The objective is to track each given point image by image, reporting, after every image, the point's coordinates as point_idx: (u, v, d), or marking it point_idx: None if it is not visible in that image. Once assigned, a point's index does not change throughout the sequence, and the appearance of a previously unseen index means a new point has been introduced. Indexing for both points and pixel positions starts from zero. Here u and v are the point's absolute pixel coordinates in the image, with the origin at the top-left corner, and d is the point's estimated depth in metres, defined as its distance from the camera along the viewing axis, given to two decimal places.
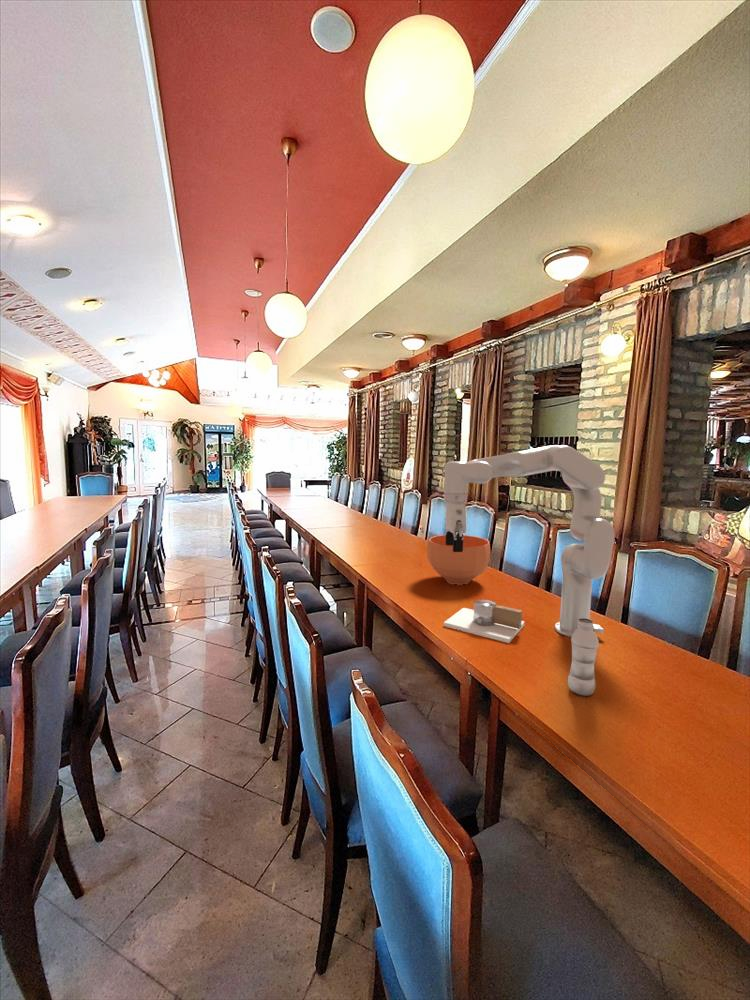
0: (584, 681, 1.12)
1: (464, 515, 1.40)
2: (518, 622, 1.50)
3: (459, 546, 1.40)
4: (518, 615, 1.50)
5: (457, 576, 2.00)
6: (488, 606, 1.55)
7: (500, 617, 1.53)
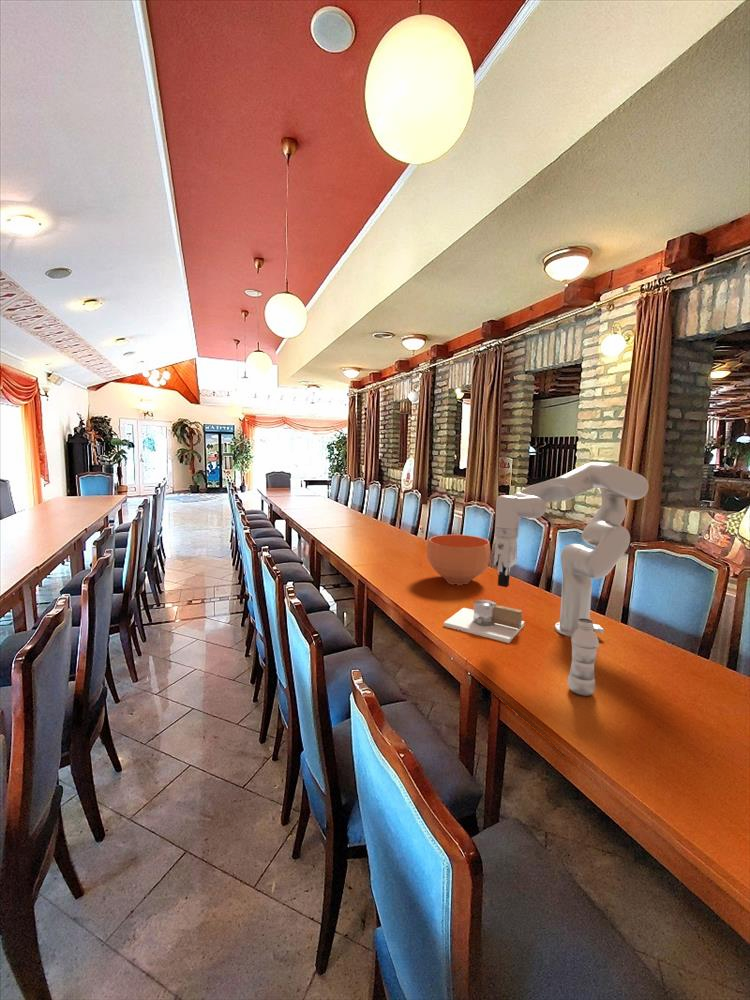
0: (584, 681, 1.12)
1: (506, 550, 1.39)
2: (518, 622, 1.50)
3: (502, 581, 1.44)
4: (518, 615, 1.50)
5: (457, 576, 2.00)
6: (488, 606, 1.55)
7: (500, 617, 1.53)
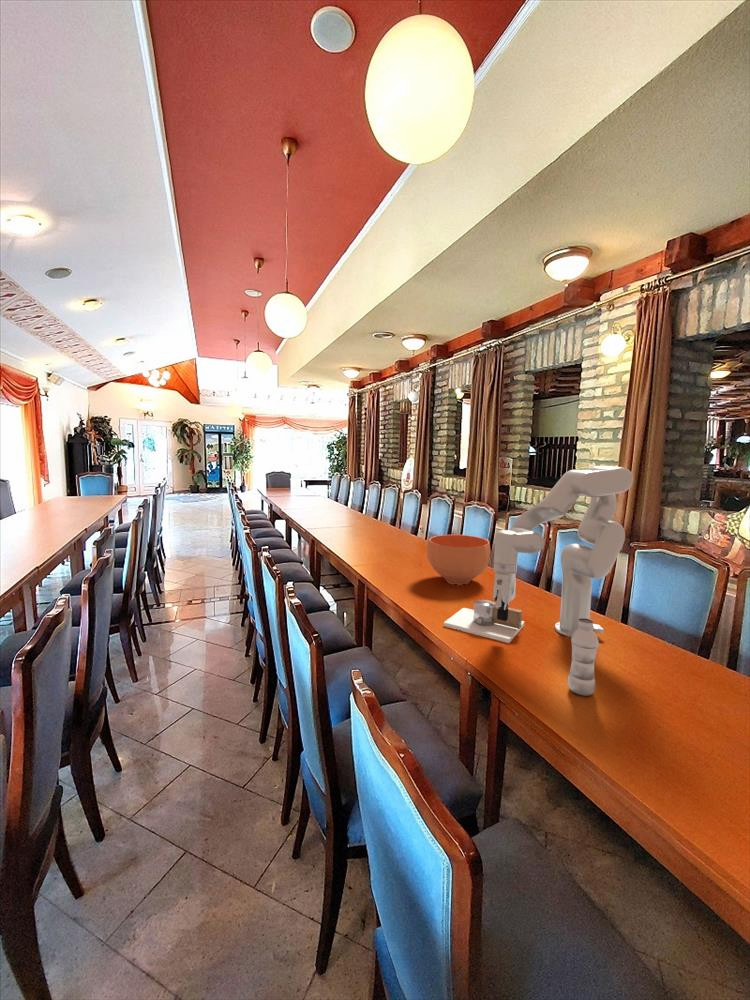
0: (584, 681, 1.12)
1: (505, 586, 1.40)
2: (518, 622, 1.50)
3: (502, 615, 1.45)
4: (518, 615, 1.50)
5: (457, 576, 2.00)
6: (488, 606, 1.55)
7: None
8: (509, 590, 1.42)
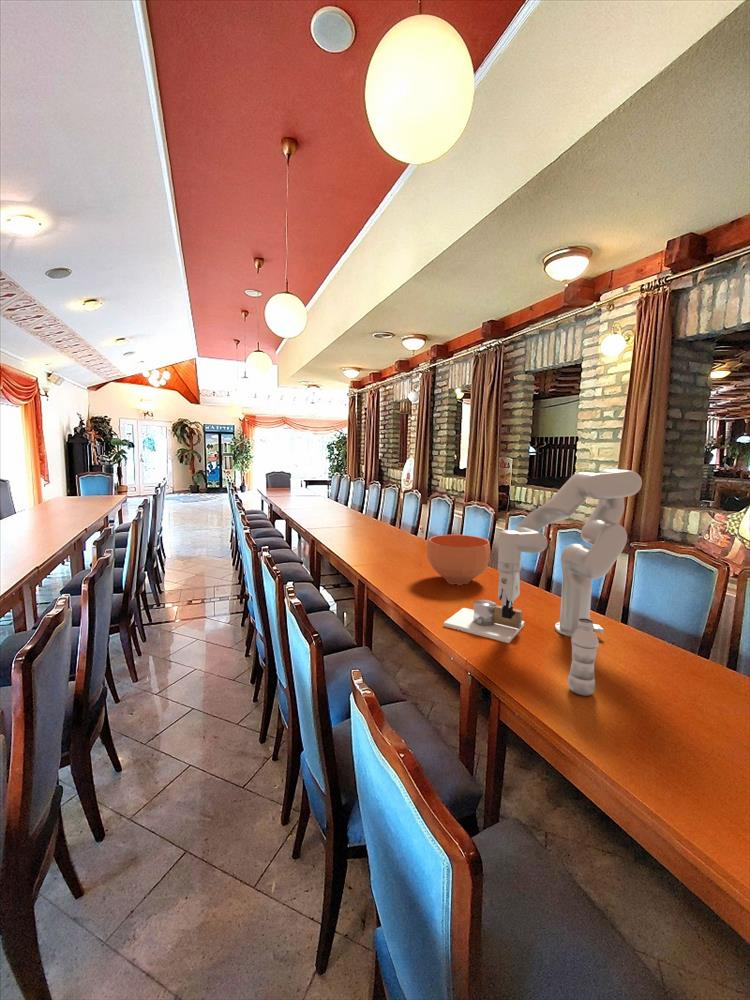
0: (584, 681, 1.12)
1: (509, 585, 1.44)
2: (518, 622, 1.50)
3: (506, 613, 1.49)
4: (518, 615, 1.50)
5: (457, 576, 2.00)
6: (488, 606, 1.55)
7: (500, 617, 1.53)
8: (513, 589, 1.45)
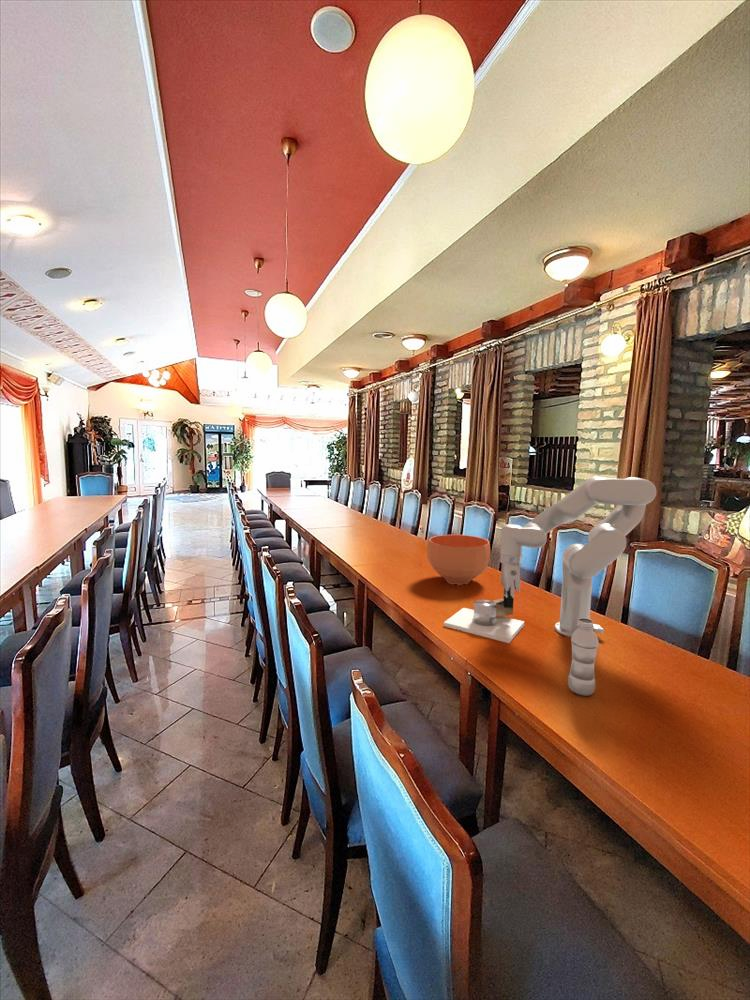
0: (584, 681, 1.12)
1: (518, 576, 1.52)
2: (512, 608, 1.63)
3: (509, 603, 1.57)
4: None
5: (457, 576, 2.00)
6: (493, 604, 1.57)
7: (499, 610, 1.60)
8: None
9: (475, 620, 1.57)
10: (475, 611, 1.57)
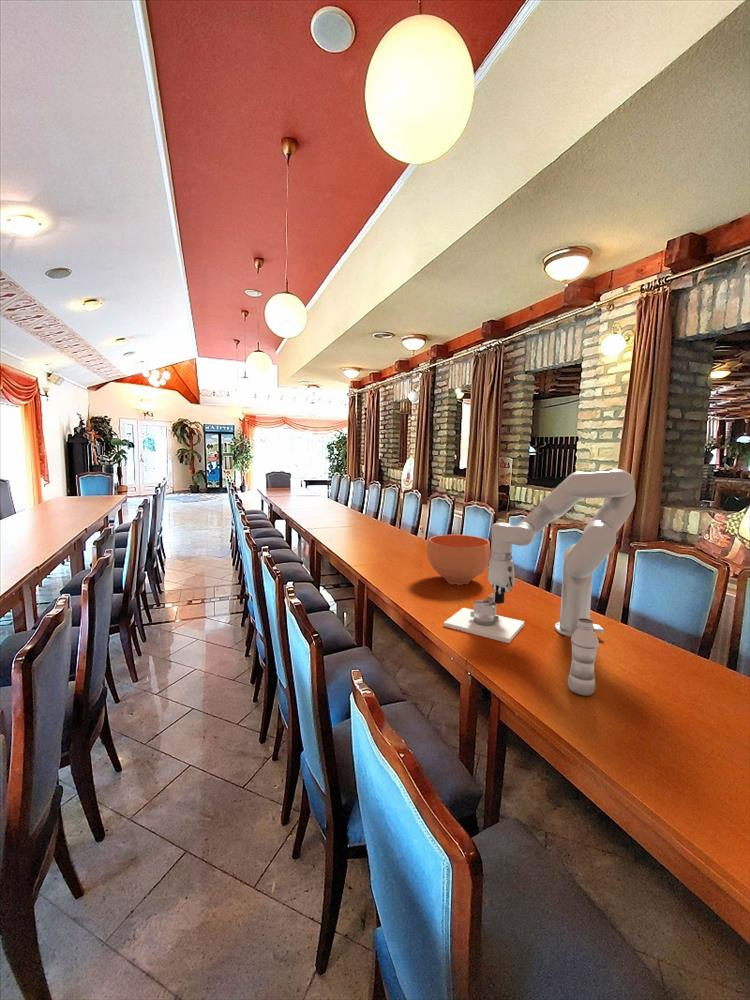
0: (584, 681, 1.12)
1: (513, 571, 1.59)
2: (496, 603, 1.68)
3: (502, 598, 1.62)
4: None
5: (457, 576, 2.00)
6: (492, 602, 1.58)
7: None
8: None
9: (480, 622, 1.55)
10: (480, 613, 1.55)
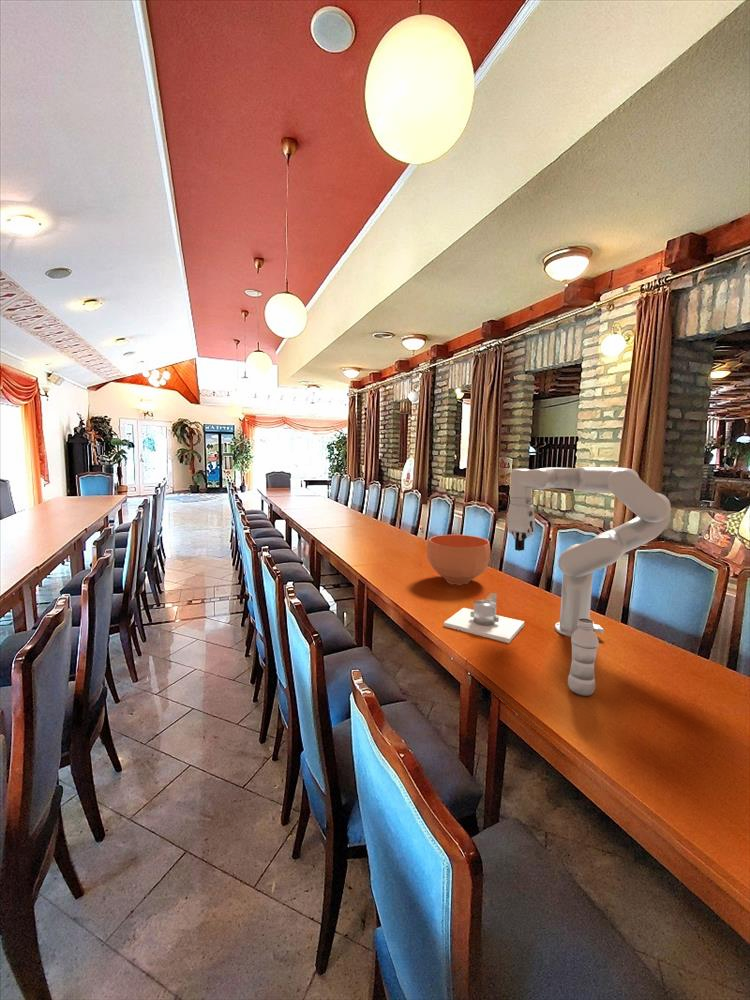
0: (584, 681, 1.12)
1: (534, 516, 1.58)
2: None
3: (523, 545, 1.61)
4: (496, 597, 1.68)
5: (457, 576, 2.00)
6: (492, 602, 1.58)
7: None
8: None
9: (480, 622, 1.55)
10: (480, 613, 1.55)
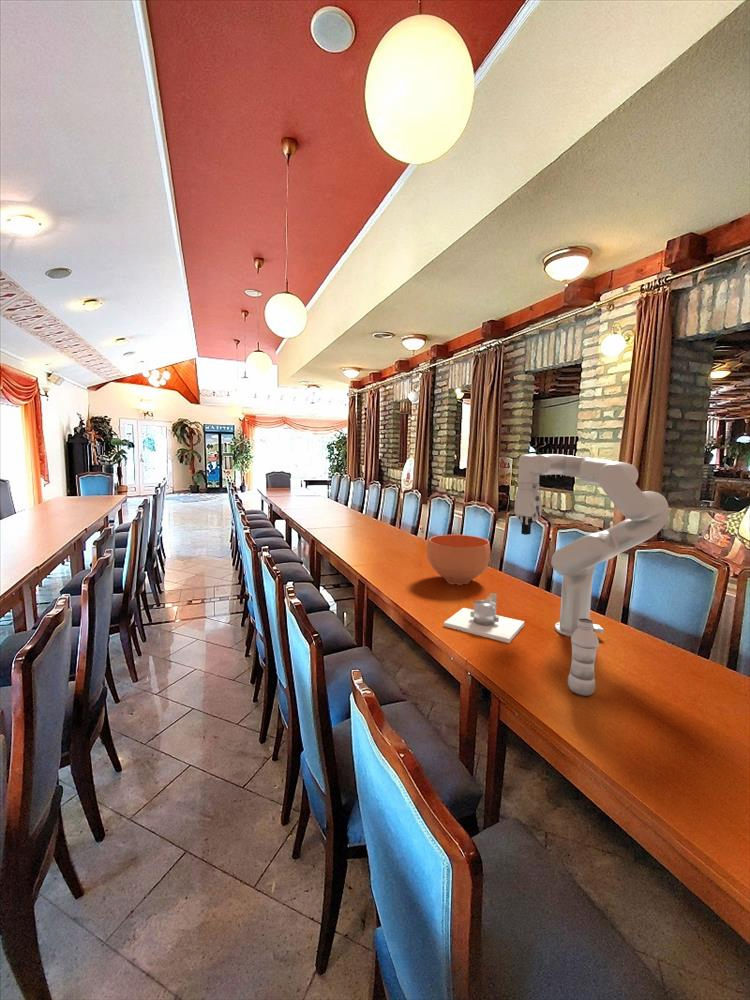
0: (584, 681, 1.12)
1: (540, 501, 1.61)
2: None
3: (529, 529, 1.65)
4: (496, 597, 1.68)
5: (457, 576, 2.00)
6: (492, 602, 1.58)
7: None
8: None
9: (480, 622, 1.55)
10: (480, 613, 1.55)
